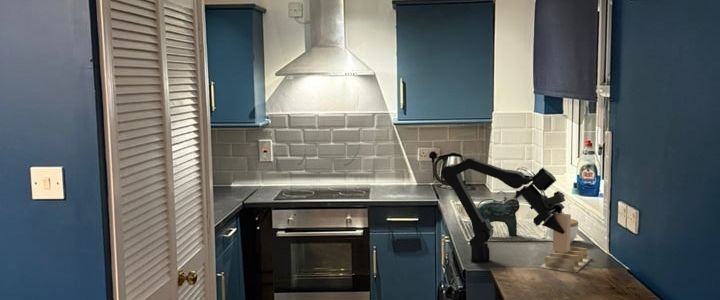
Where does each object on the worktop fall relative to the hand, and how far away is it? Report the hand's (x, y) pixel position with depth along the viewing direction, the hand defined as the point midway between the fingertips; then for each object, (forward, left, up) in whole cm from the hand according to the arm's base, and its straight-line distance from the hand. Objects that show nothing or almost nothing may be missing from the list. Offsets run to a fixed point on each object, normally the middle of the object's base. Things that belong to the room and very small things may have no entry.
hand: (565, 232), depth 227 cm
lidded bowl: (+6, +41, -14) cm, 44 cm away
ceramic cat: (-20, +53, -14) cm, 58 cm away
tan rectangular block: (-1, +1, -7) cm, 7 cm away
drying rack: (+2, +7, -13) cm, 15 cm away
